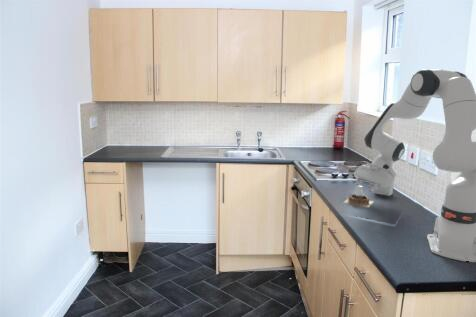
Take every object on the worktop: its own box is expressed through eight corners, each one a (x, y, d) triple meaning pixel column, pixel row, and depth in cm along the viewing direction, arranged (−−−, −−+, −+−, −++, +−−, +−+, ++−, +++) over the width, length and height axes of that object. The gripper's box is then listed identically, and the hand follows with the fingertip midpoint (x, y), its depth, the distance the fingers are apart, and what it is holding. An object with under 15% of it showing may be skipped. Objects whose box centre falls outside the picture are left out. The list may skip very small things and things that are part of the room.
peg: (361, 203, 182) (363, 187, 180) (353, 202, 184) (355, 186, 182) (363, 201, 185) (365, 185, 184) (355, 200, 187) (357, 184, 186)
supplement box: (378, 191, 207) (381, 168, 205) (392, 194, 203) (395, 171, 200) (374, 194, 202) (376, 171, 199) (388, 197, 197) (391, 173, 194)
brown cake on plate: (368, 209, 177) (369, 202, 176) (342, 204, 183) (343, 197, 182) (373, 203, 187) (374, 196, 186) (349, 198, 193) (350, 191, 192)
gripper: (361, 159, 194) (345, 179, 192) (393, 168, 176) (376, 190, 174) (366, 166, 197) (350, 186, 195) (399, 176, 179) (382, 198, 177)
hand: (363, 188), depth 184 cm, fingers open, 8 cm apart
